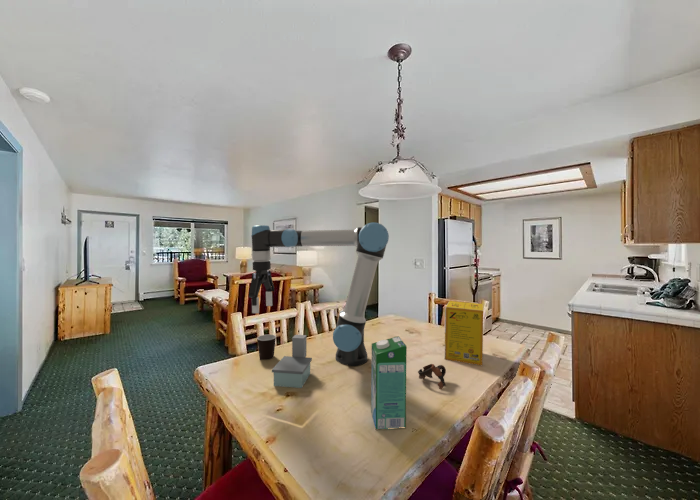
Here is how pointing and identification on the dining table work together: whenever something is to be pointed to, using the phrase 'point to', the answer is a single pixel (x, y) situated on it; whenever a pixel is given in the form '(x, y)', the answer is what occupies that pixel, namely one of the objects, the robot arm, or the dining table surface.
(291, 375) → the tub
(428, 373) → the brown curved piece
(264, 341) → the coffee mug
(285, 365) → the bookend
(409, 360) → the dining table surface
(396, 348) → the milk carton
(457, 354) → the packaging box
